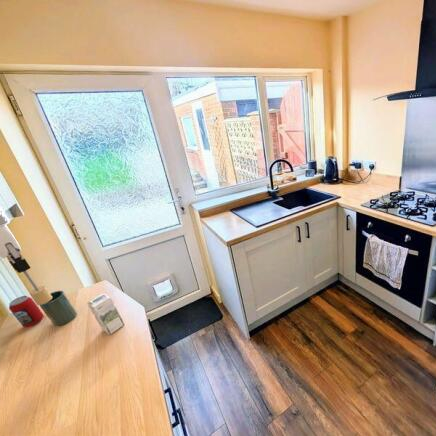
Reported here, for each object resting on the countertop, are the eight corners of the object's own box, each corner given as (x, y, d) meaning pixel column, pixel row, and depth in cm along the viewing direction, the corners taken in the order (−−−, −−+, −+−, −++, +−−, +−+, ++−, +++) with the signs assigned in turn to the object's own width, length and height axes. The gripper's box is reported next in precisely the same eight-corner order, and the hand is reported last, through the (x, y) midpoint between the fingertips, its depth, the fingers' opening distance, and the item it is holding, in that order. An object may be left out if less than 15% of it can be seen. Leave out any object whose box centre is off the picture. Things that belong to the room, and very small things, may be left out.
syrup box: (118, 319, 100) (102, 292, 94) (125, 324, 97) (110, 297, 91) (102, 330, 96) (86, 302, 90) (110, 336, 93) (93, 307, 87)
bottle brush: (39, 306, 89) (7, 260, 81) (35, 302, 91) (3, 258, 83) (54, 298, 92) (24, 254, 84) (50, 295, 95) (21, 251, 86)
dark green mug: (58, 329, 99) (42, 307, 94) (50, 322, 103) (35, 301, 98) (80, 315, 105) (66, 293, 100) (72, 309, 109) (59, 288, 104)
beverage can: (19, 327, 102) (2, 305, 97) (37, 314, 108) (22, 293, 103) (30, 329, 101) (13, 307, 96) (48, 316, 107) (33, 295, 101)
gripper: (-32, 223, 79) (2, 269, 87) (-21, 231, 71) (15, 282, 79) (1, 214, 85) (30, 258, 93) (14, 221, 77) (44, 268, 85)
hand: (23, 269), depth 86 cm, fingers closed on bottle brush, 2 cm apart
